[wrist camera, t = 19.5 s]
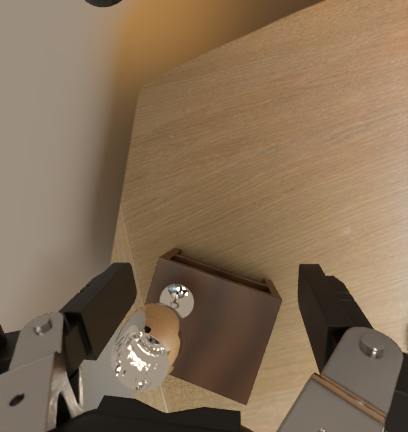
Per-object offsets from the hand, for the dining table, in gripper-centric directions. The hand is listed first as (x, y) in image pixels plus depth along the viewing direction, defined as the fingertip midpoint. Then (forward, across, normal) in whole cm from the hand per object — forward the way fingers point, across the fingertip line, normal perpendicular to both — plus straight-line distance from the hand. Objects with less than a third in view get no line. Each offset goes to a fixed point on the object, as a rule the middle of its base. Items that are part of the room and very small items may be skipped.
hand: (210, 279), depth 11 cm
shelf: (+21, +5, +19) cm, 28 cm away
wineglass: (+14, +7, +13) cm, 21 cm away
